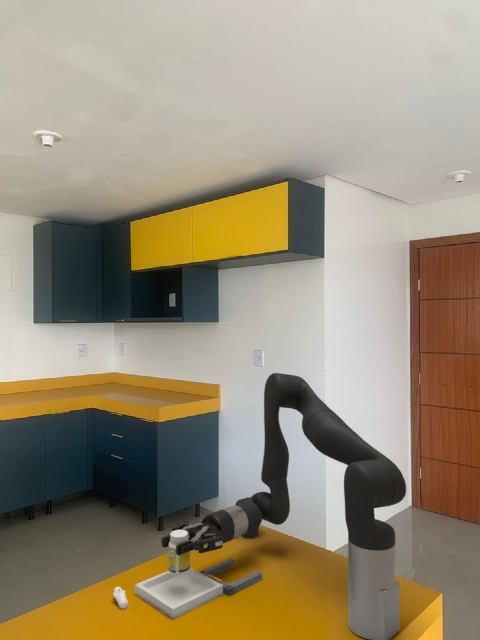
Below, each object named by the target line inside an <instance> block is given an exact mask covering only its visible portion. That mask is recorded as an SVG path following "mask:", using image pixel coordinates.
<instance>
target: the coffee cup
mask: <svg viewBox="0 0 480 640" xmlns="http://www.w3.org/2000/svg"><path fill="white" fill-rule="evenodd" d="M250 497H251V496H250ZM250 497H245V498H240V499H238V500H237V501H236V502H235V505H234V506H236V505H238V504H241V503H244V502H245V501H247V500H248V499H249V498H250ZM259 530H260V525H259V526H258V527H257V528H256V529H254V530H252V531H249V532H247V533H245V534H243V535H241V536H240V537H242V538H244V539H254V538H255V539H256V538H257V537H259V532H260V531H259Z"/></svg>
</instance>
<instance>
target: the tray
mask: <svg viewBox="0 0 480 640" xmlns="http://www.w3.org/2000/svg"><path fill="white" fill-rule="evenodd" d="M199 572H200V571H198V570H196V569H193V568H191V567H190V570H189V571H188V572H187V573H186V574H182V575H174V574H171V573H170V572H169V570H167V571H164V572H162V573H159V574H157V575H154V576H152V577H150V578H148V579H145V580H143V581H141V582H138V583H135V584H134V594H135V595H136V596H137V595H138V597H139V598H140V597H141V599H142V600H144V601H145V602H146V603H148V604H149V605H150V606H152V607H154V608H155V609H157V610H158V611H160V612H161V613H163V614H164V615H165V616H167V617H169V618H170V619H171V620H175V619H177V618H179V617H181V616H183V615H185V614H187V613H188V612H191V611H193V610H195V609H197V608H199V607H201V606H203V605H204V604H207V603H209V602H211V601H213V600H215V599H216V598H219V597H221V596H223V595H224V593H223V585H222V584H220V583H218V582H216V581H214V580H212V579H211V578H209V577H207V576H205V575H203V574H201V573H199Z"/></svg>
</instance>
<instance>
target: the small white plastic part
mask: <svg viewBox="0 0 480 640" xmlns="http://www.w3.org/2000/svg"><path fill="white" fill-rule="evenodd" d="M112 596H113V597H114V599H115V600H116V602H117V604H118V605H119V608H120V609H121V610H124V609H127V607H128V606H129V601H128V599H127V594H126V590H124V589H122V587H121V586H116V587H115V588H114V589H113V593H112Z"/></svg>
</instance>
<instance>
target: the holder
mask: <svg viewBox="0 0 480 640" xmlns="http://www.w3.org/2000/svg"><path fill="white" fill-rule="evenodd" d="M235 564H236V560H235V559H234V558H232V557H229V558H227V559H225V560H223V561H221V562H218V563H215V564H213V565H211V566H209V567H207V568H204V569H203V570H200V571H198V572H199V573H201V574H203V575H205V576H207V577H209V578H211V579H212V580H214V581H216V582H218V583H220V584H222V585H223V595H226V596H228V597H231V596H233V595H235V594H236V593H238V592H240V591H242V590H244V589H247V588H248V587H250V586H251V585H254V584H256V583H258V582H259V581H260V582H261V580H263V572H261V571H260V570H257V571H255V572H253V573H250V574H249V575H246V576H244V577H242V578H240V579H238V580H236V581H234V582H232V583H230V584H229V583H227V582H225V581H223V580H222V579H220V578H218V577H216V575H218V574H220V573H222V572H224V571H227V570H228V569H229V570H230V569H231V568H233V567H235Z"/></svg>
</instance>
